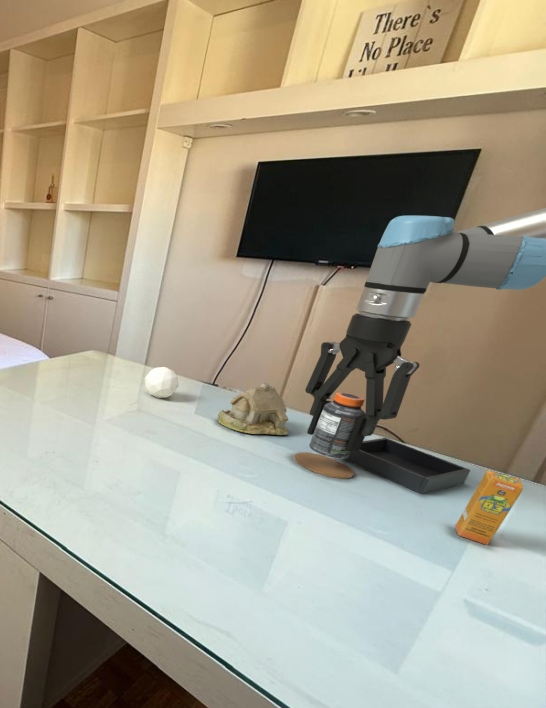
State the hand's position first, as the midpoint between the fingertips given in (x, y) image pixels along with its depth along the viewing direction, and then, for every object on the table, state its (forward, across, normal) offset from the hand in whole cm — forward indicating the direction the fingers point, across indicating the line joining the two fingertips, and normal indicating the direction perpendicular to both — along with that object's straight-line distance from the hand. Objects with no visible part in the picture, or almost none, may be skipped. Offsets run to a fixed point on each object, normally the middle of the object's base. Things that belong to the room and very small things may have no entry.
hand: (332, 441), depth 83 cm
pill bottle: (+2, 0, 0) cm, 2 cm away
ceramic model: (+5, -17, +3) cm, 18 cm away
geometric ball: (+5, -37, -5) cm, 38 cm away
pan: (+5, +5, +14) cm, 16 cm away
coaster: (+5, 0, 0) cm, 5 cm away
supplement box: (+5, +21, 0) cm, 22 cm away
